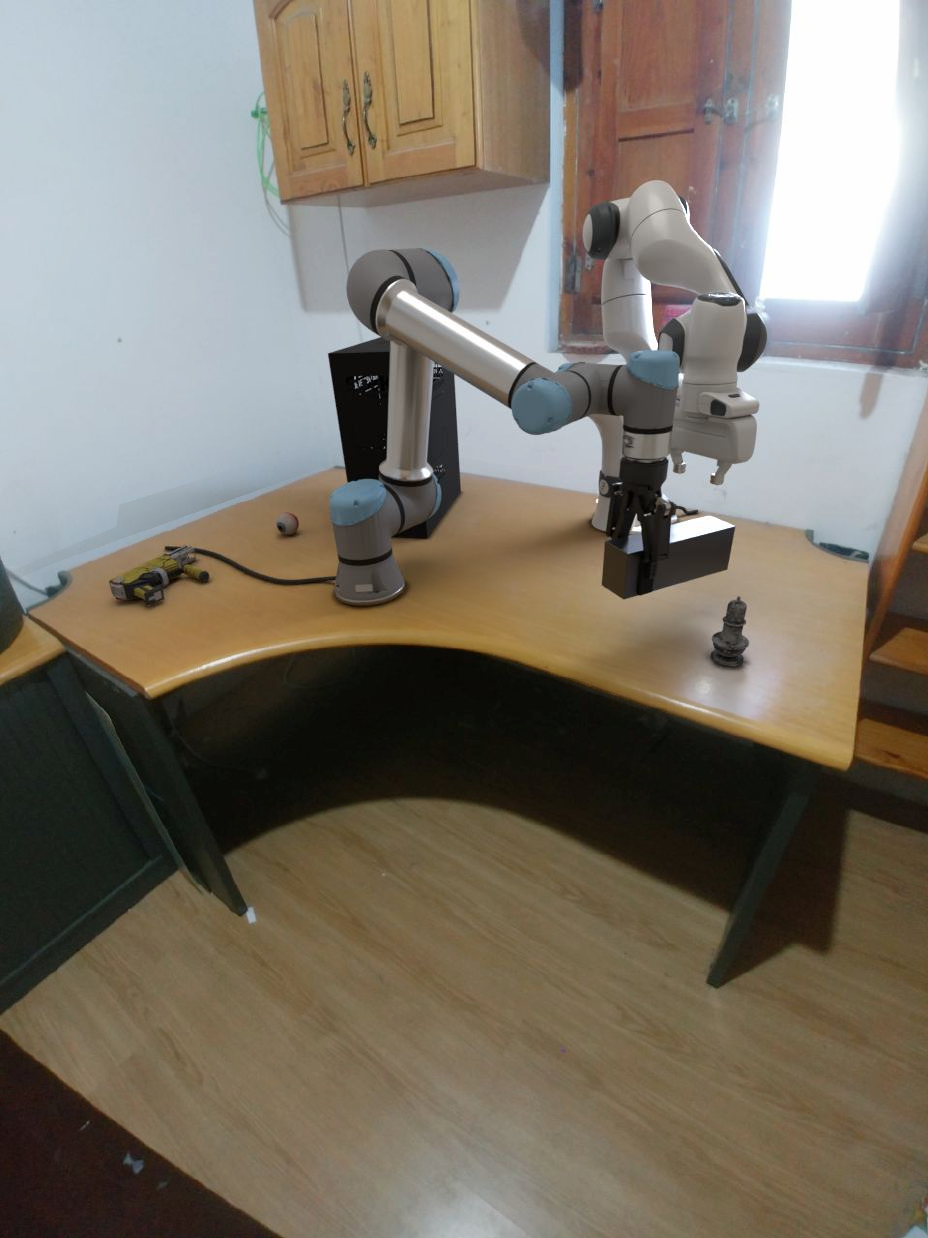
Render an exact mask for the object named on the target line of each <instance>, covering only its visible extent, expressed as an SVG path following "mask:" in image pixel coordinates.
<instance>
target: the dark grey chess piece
mask: <svg viewBox="0 0 928 1238" xmlns="http://www.w3.org/2000/svg"><path fill="white" fill-rule="evenodd" d="M741 599H742V597H741V595H738V596H736V599H732V600H730V601H729V602H728V603H727V607H726V613H725V615H724V616H723V617H722V622H723V624H722V630H720V631H717V632H715V633H713V634H712V635H711V641H712V645H713V648H714V649H713V650H712V651H711V652H710V658H711V660H712V661H713V662H715V663H717V664H719V665H721V666H725V667H738V666H740V665H742V664H743V663H744V656H743V655H742V654H743V653H744V652H745V651H746V649H747V648H748V647H749V646H750V640H749V639H748V638H747V637H746V636H745V635H743V629H744V626H745V625H747V620H746V619H745V618H746V614H747V607H748V606H747V603H746V602H745V601H743V600H741Z"/></svg>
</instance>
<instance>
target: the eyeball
mask: <svg viewBox="0 0 928 1238" xmlns="http://www.w3.org/2000/svg"><path fill="white" fill-rule="evenodd" d="M299 525H300V522H299V519H298V517H297V516H296V515H295V514H294V513H292V512H287V511H286V512H282V513H280V514H279V515H278V516H277V517H276V520H275V527H276V529H277V530H278V531H279V532H280V533H281V534H282V535H285V536H286V535H287V536H289V535H293V534H295V533H296V532H297V531H298V529H299Z"/></svg>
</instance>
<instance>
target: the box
mask: <svg viewBox="0 0 928 1238" xmlns="http://www.w3.org/2000/svg"><path fill="white" fill-rule="evenodd" d="M736 528H737V527H736V525H733V524H731V523H730V522H727V521H724V520H722V519H719V518H717V517H715V516H712V515H705V516H702V517H698V518H693V519H689V520H686V521H680V522H676V523H672V524H671V529H670V545H669V558H668V559H667V560H663V561H660V562H658V566H657V572H656V573H657V574H656V577H655V578H654V582H653V590H652V592H656V591H660V590H662V589H666V588H668V587H672V586H673V587H674V586H676V585H679V584H683V583H687V582H689V581H693V580H696V579H700V578H704V577H708V576H711V575H713V574H717V573H721V572H724V571H727V570H728V568H729V562H730V558H731V552H732V546H733V542H734V537H735V532H736ZM651 554H652V553H651ZM641 559H644V550H643V542H642V533H641V532H640V533H636V534H628V536H624V537H620V538H616V539H608V540H605V541H604V550H603V561H602V562H603V564H602V574H601V575H602V577H601V586H602V587H603V588H605V589H607V590H609V591H610V592H611V593H613V594H614V595H616V596H617V597H619V598H620V599H622V600H623V601H624V600H628V599H631V598H635V597H638V596H639V595H638V594H637V589H638V580H639V571H640V562H641Z"/></svg>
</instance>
